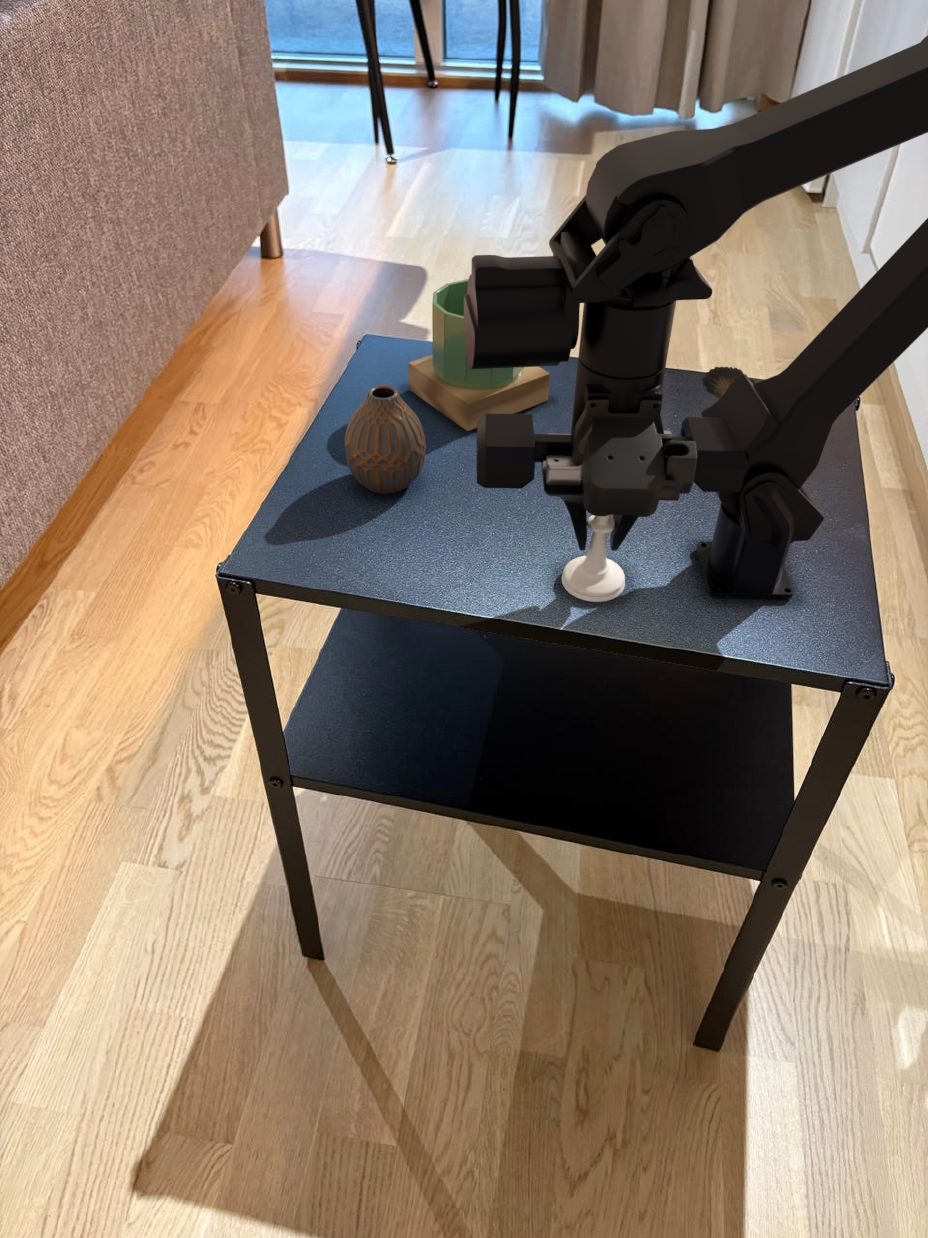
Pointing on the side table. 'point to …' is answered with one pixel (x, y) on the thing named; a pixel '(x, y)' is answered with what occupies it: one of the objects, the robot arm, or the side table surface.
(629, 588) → the side table surface
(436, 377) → the block
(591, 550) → the chess piece
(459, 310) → the cup
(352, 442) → the vase
